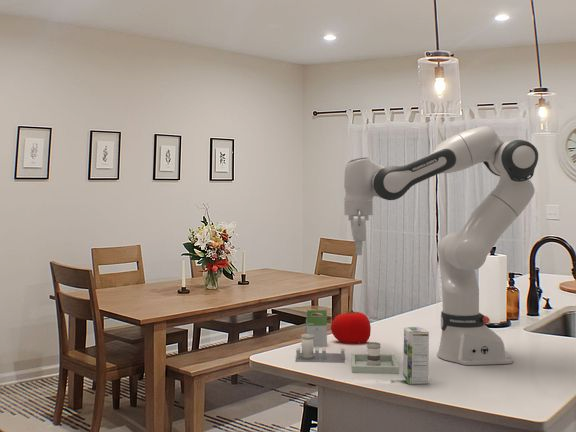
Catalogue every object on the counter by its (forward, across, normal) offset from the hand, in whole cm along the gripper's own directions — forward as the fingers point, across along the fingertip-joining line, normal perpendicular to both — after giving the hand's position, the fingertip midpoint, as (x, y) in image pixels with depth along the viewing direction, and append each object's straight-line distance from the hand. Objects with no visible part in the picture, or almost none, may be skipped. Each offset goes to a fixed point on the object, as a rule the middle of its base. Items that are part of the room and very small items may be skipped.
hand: (358, 253), depth 180 cm
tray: (+33, -13, -4) cm, 36 cm away
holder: (+33, -5, +12) cm, 36 cm away
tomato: (+33, +17, +2) cm, 37 cm away
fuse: (+32, -13, -4) cm, 35 cm away
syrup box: (+33, -22, -15) cm, 43 cm away
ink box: (+33, +10, +14) cm, 38 cm away
